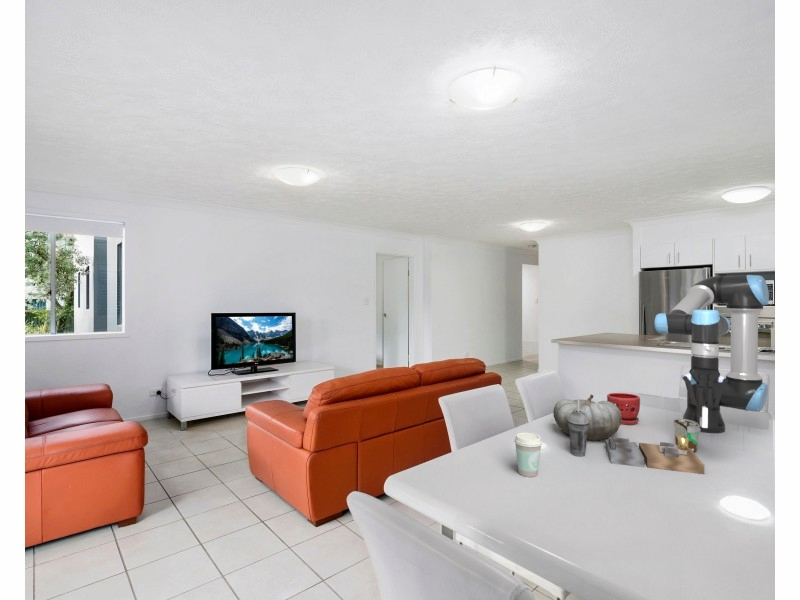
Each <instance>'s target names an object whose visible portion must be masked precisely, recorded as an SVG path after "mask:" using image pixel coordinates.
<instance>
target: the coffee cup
mask: <svg viewBox="0 0 800 600" xmlns="http://www.w3.org/2000/svg"><path fill="white" fill-rule="evenodd" d="M513 442H514V443H515V452H516V461H517V470H518V474H519V475H520V476H523V477H527V478H535V477H538V473H539V466H540V457H541V449H542V445H543V441H542V438H541V436H540V435H539V434H536V433H533V432H519V433H517V434H516V435H515V437H514V441H513Z"/></svg>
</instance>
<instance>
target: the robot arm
mask: <svg viewBox="0 0 800 600" xmlns="http://www.w3.org/2000/svg"><path fill="white" fill-rule="evenodd" d="M769 293H770V292H769V288H768V283H767V281H766V280H765V278H764V276H762V275H758V274H757V275H756V274H747V275H745V274H744V275H738V274H737V275H716V276H709V277H707V278H704V279H702V280H700V281H698V282H696V283H694V284H693V285H692V286H691V287H690V288H689V289H688V290H687V292H686V295H685V296H684V298H682V299H681V300H680V301H679V302H678V303H677V304H676V305H675V306H674V307H673V308H672V309H671V310H670V311H669V312H668V313H666V312H663V313H662V312H661V313H658V314H656V315H655V318H654V323H653V325H654V329H655V331H656V332H657V333H658V334H659V333H660V334H666V335H680V336H681V335H684V336H691V350H690V353H691V356H690V370H689V372H688V373H687V374H682V375H681V379H682V380H683V381H684V385H685V388H686V409H685V412H684V414H683V416H682V419H688V420H692V421H695V422H697V423H698V424H699V426H700V430H701V431H700V432H703V433H710V434H711V433H713V434H714V433H715V434H716V433H717V434H719V433H724V432H725V431H726V425H725V421H724V419H723V416H722V413H721V407H724V408H731V409H736V410H743V411H746V412H747V411H748V412H749V411H750V412H760V411H762V410H763V408H764V407H765V404H766V402H767V398H768V392H769V386H768V385H769V384H767V383H765V382H763V377H762V376H761V375H760V374H759V373H758V372H759V371H758V370H759V369H758V366H759V365H758V364H759V363H758V361H759V360H758V358H759V357H758V354H759V353H758V351H759V346H758V345H759V334H758V333H759V313H760V312H762V311H763V310H764V306H767V305H768V304H769V302H770V294H769ZM715 304H716V305H718V304H719V305H725V306H726V310H727V311H728V312H730V320H729V319H728V318H727V317H725V316H724V315H720V312H719V310H717V309H704V308H705V307H708V306H710V305H715ZM729 331H730V371H729V372H727V373H726V374H725V377H724V376H722V375H721V373H720V371H719V367H720V366H719V365H720V364H719V362H720V361H719V360H720V359H719V357H718V356H719V355H720V353H719V352H720V351H719V350H720V349H719V347H720V337H722V336H724V335H726V334H728V333H729Z"/></svg>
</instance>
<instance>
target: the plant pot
mask: <svg viewBox="0 0 800 600" xmlns="http://www.w3.org/2000/svg"><path fill="white" fill-rule="evenodd" d="M606 401H609V402H611V403H613V404H615V405H616V406H617V407H618V409H619V410H620V412H621V416H622V420H621V424H620V425H636V424H637V423H638V422H639V421H640V419H639V418H638V416H639V413H640V407H641V397H640V395H637V394H632V393H628V392H627V393H626V392H612V393H608V394H607V395H606Z"/></svg>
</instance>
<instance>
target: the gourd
mask: <svg viewBox="0 0 800 600" xmlns="http://www.w3.org/2000/svg"><path fill="white" fill-rule="evenodd" d="M593 398H594V394H589V397H588V398H587V399H579V411H582V412H584V413H585V414H586V415H587V417H588V419H589V428H588V432H587V441H593V442H594V441H601V440H603V439H609V437H613V435H615V434H617V432H618V430H619V429H620V426H621V425H622V424H621V420H622V416H621V412H620V410H619V409H618V407H617V406H616V404H613V403H611V402H609V401H607V400H601V401H598V402H595V401H593ZM573 411H578V399H565V398H564V399H560V400H558V401H557V402H556V403H555V404H554V408H553V411H552V413H553V415H552V416H553V418H554V421H555V424H556V425H557V426H558V428H559V429H560V430H561V431H562V432H563V433H565V434H566V435H569V436H570V432H569V426H568V417H569V415H570V414H571V413H572V412H573Z"/></svg>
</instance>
